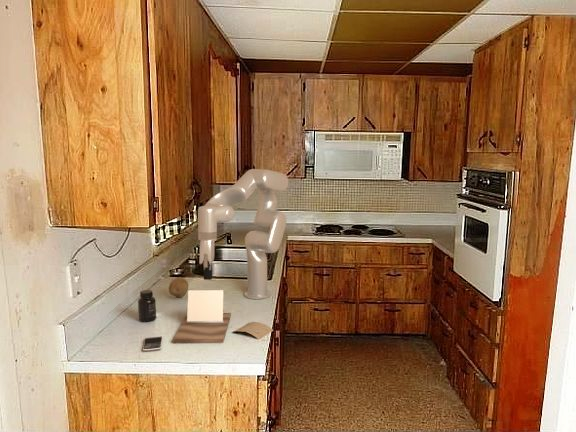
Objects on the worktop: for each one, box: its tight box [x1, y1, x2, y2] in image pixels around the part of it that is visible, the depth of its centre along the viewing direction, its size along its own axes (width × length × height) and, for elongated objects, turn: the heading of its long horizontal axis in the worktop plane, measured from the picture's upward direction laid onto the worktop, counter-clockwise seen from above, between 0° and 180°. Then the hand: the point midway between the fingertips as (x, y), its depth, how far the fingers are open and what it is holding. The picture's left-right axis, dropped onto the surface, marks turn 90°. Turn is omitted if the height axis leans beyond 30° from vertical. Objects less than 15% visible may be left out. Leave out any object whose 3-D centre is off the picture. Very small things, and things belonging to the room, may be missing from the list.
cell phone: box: [142, 336, 163, 353], centre depth 154 cm, size 6×11×1 cm, turn 13°
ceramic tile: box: [186, 289, 225, 323], centre depth 171 cm, size 13×14×1 cm
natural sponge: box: [168, 277, 189, 299], centre depth 203 cm, size 9×9×10 cm
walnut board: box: [172, 312, 232, 344], centre depth 168 cm, size 26×18×2 cm
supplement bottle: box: [137, 289, 157, 323], centre depth 177 cm, size 7×7×12 cm
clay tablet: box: [232, 321, 274, 340], centre depth 165 cm, size 14×10×3 cm
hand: (207, 279), depth 179 cm, fingers closed
